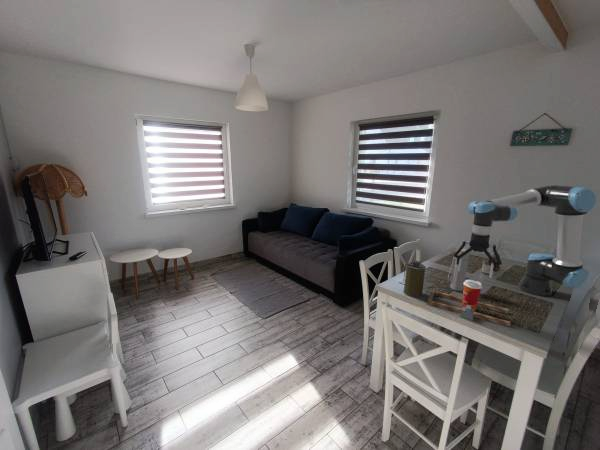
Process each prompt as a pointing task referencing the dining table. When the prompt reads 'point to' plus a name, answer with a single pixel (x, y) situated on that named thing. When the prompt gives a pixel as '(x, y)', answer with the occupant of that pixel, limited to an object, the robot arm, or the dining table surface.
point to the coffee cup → (471, 293)
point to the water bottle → (457, 276)
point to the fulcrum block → (467, 312)
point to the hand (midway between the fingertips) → (474, 273)
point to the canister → (414, 278)
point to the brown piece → (477, 315)
